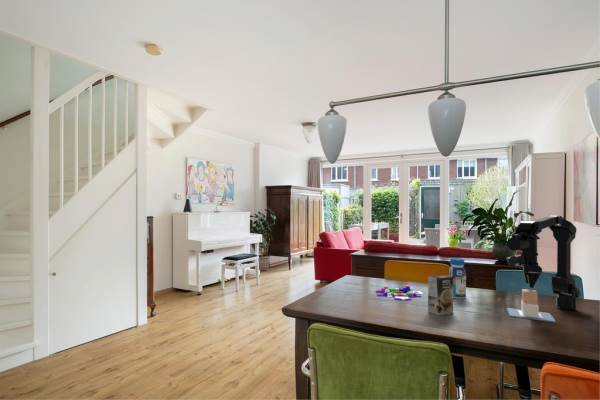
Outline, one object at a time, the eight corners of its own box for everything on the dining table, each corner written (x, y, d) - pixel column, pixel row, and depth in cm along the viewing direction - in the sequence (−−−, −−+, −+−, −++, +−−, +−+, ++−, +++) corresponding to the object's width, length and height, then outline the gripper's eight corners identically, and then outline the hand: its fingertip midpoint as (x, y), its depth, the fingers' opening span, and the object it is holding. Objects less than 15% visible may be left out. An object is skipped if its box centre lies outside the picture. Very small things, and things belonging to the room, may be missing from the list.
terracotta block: (535, 301, 144) (535, 290, 144) (537, 304, 139) (537, 292, 139) (521, 300, 146) (521, 289, 146) (523, 303, 141) (523, 291, 142)
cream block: (536, 313, 144) (536, 301, 144) (538, 316, 139) (538, 304, 139) (521, 311, 146) (521, 300, 146) (523, 314, 141) (523, 303, 141)
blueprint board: (549, 314, 144) (549, 312, 144) (556, 322, 133) (556, 321, 133) (506, 308, 151) (506, 307, 151) (509, 316, 141) (509, 315, 141)
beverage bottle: (450, 293, 178) (450, 257, 178) (467, 296, 173) (467, 258, 173) (447, 297, 171) (446, 259, 171) (464, 300, 166) (464, 260, 166)
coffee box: (438, 315, 141) (438, 278, 142) (427, 311, 147) (427, 275, 147) (454, 313, 145) (453, 276, 145) (442, 309, 151) (442, 273, 151)
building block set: (380, 300, 165) (380, 292, 165) (374, 290, 186) (374, 282, 186) (430, 302, 163) (430, 293, 163) (419, 291, 184) (419, 283, 184)
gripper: (505, 246, 155) (505, 279, 155) (510, 250, 138) (510, 287, 138) (533, 247, 150) (534, 282, 150) (542, 252, 133) (542, 291, 133)
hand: (529, 285), depth 143 cm, fingers open, 9 cm apart
